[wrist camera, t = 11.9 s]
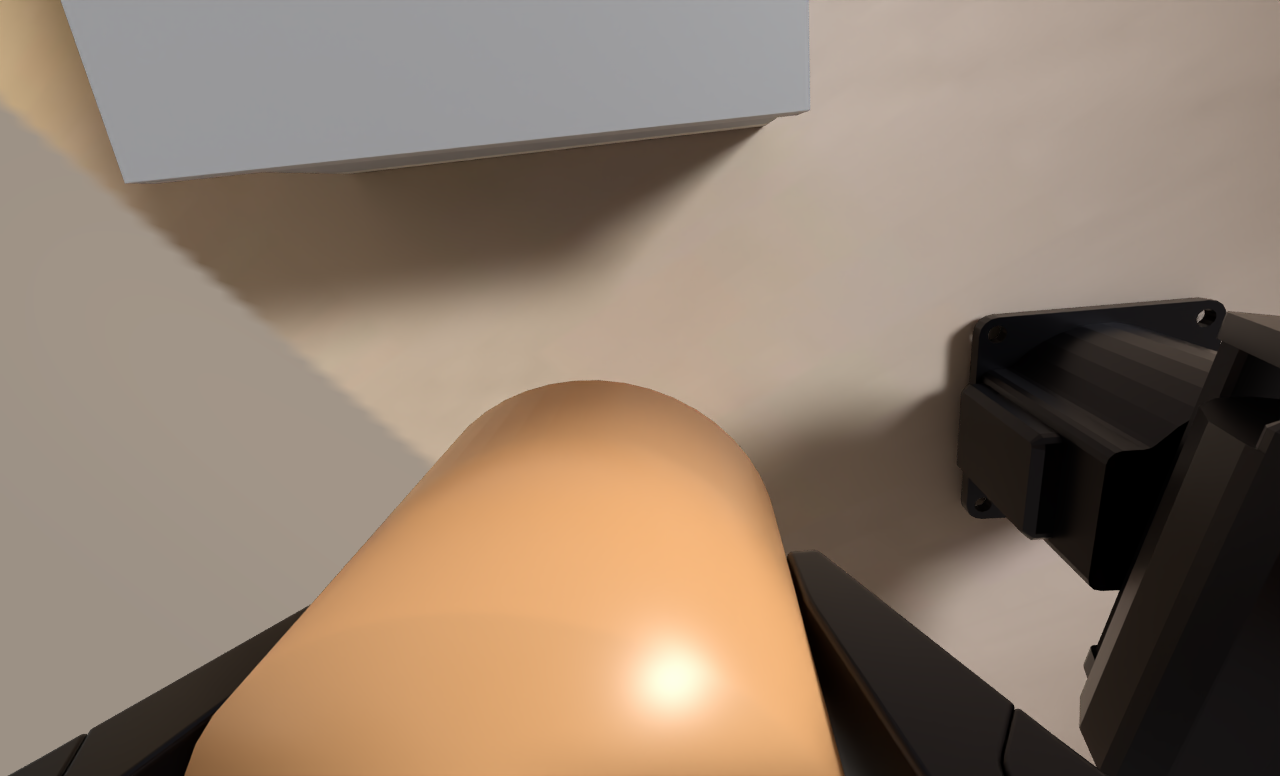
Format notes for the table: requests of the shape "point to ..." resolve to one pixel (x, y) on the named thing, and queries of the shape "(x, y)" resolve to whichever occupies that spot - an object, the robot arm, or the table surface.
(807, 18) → the lid
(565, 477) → the orange round cylinder
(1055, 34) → the table surface
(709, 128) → the carton
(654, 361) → the table surface
